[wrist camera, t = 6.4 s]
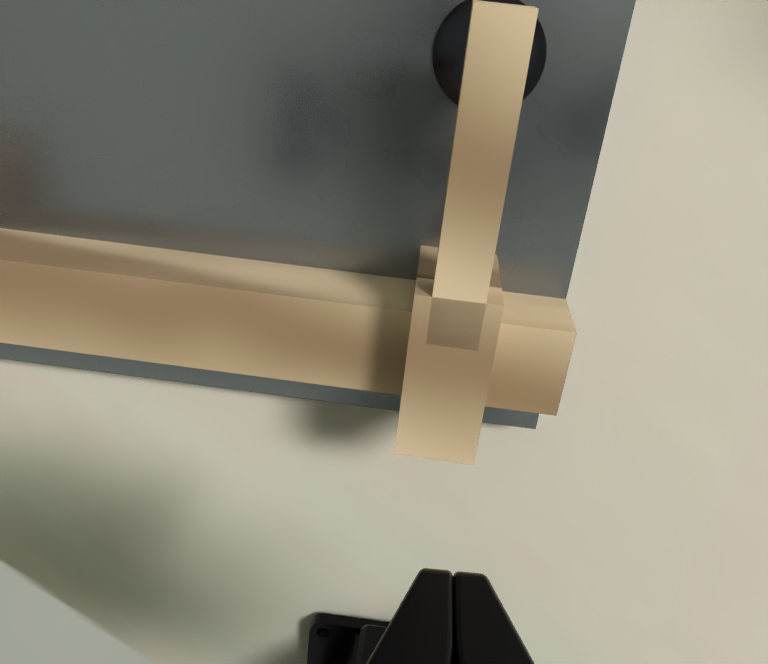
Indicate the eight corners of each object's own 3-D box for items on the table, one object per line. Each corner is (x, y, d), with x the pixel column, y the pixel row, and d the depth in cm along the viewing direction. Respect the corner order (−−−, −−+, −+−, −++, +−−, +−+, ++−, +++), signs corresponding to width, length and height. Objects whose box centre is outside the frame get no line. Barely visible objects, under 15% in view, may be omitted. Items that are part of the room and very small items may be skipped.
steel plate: (532, 410, 22) (536, 430, 21) (-163, 319, 23) (-191, 334, 22) (682, -246, 15) (697, -261, 14) (-350, -346, 16) (-402, -367, 15)
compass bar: (540, 406, 21) (553, 475, 18) (-196, 309, 22) (-295, 361, 19) (632, 13, 16) (670, 23, 13) (-317, -92, 17) (-474, -104, 14)
